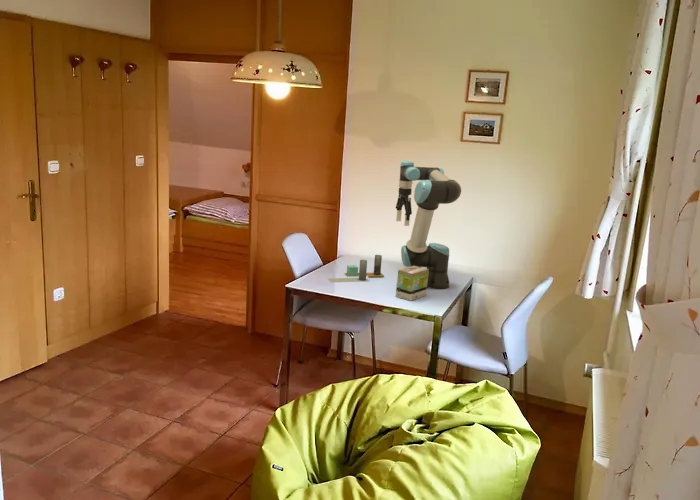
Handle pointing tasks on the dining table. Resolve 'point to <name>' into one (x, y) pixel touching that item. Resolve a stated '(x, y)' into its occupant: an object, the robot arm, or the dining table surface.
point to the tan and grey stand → (376, 269)
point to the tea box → (412, 282)
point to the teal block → (352, 270)
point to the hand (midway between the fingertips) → (402, 223)
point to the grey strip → (361, 278)
